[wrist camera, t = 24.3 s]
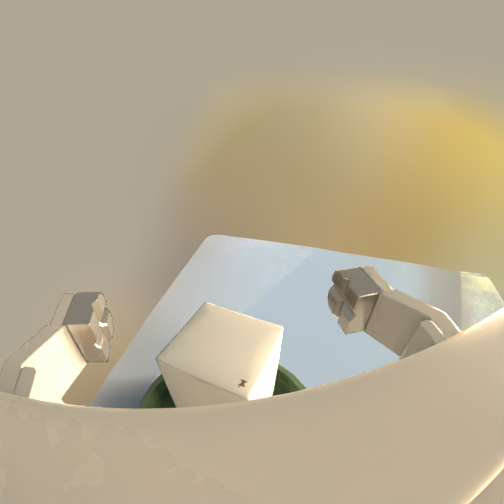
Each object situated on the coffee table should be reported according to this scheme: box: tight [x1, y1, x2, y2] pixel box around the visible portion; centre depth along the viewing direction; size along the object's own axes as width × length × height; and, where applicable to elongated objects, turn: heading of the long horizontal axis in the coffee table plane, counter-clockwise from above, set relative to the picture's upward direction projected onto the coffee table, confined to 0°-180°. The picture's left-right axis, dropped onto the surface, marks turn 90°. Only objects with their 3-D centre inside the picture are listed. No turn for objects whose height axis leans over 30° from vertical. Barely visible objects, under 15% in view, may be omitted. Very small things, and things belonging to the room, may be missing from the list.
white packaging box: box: [156, 302, 283, 408], centre depth 22 cm, size 7×7×13 cm
